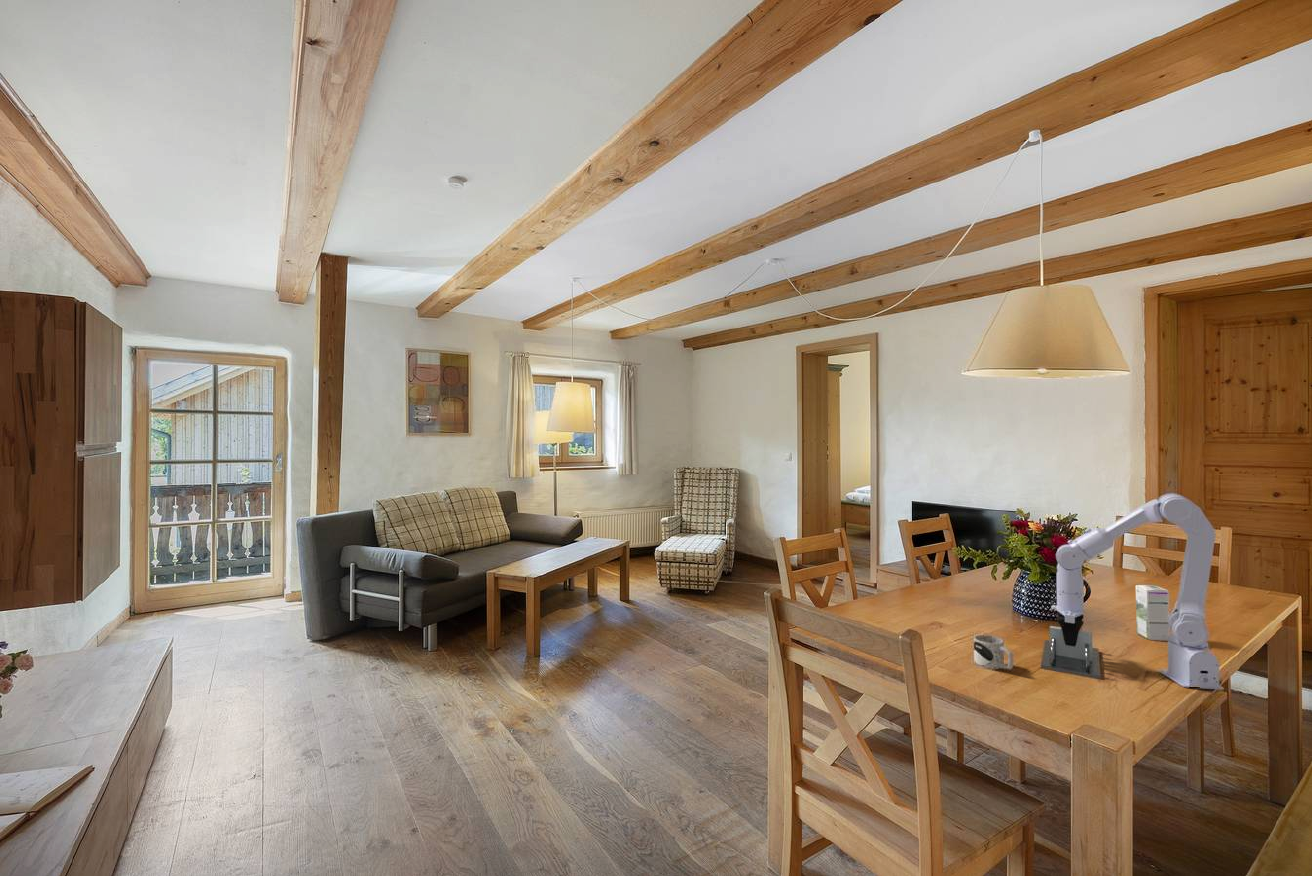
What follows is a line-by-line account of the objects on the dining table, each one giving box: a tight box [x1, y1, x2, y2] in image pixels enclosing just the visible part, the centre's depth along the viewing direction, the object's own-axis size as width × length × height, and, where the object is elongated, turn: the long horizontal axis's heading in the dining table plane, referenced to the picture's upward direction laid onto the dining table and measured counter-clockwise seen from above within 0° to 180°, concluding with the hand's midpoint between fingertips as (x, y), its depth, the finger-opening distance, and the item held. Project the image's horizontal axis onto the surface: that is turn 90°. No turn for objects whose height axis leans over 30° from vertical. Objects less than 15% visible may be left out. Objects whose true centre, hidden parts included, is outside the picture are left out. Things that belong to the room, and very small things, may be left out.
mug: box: [973, 634, 1015, 671], centre depth 148 cm, size 10×7×7 cm
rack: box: [1040, 638, 1102, 680], centre depth 152 cm, size 22×12×5 cm, turn 144°
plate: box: [1049, 625, 1093, 661], centre depth 152 cm, size 2×9×7 cm, turn 54°
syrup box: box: [1135, 584, 1171, 642], centre depth 168 cm, size 6×6×14 cm
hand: (1070, 643), depth 152 cm, fingers open, 3 cm apart
